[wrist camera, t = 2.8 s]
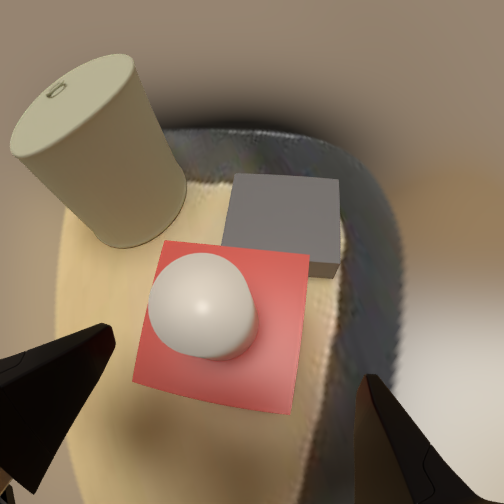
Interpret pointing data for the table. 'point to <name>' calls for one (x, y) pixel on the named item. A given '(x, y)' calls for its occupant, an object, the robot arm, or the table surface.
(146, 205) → the can
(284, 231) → the grey box
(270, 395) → the ketchup bottle
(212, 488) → the table surface
